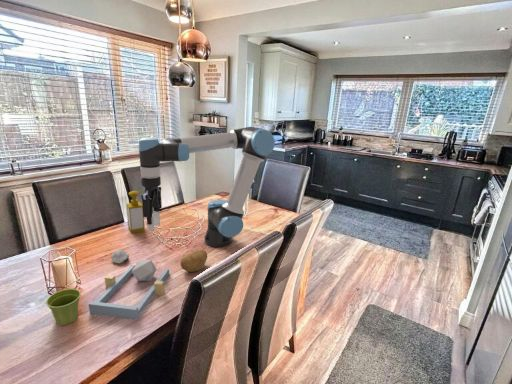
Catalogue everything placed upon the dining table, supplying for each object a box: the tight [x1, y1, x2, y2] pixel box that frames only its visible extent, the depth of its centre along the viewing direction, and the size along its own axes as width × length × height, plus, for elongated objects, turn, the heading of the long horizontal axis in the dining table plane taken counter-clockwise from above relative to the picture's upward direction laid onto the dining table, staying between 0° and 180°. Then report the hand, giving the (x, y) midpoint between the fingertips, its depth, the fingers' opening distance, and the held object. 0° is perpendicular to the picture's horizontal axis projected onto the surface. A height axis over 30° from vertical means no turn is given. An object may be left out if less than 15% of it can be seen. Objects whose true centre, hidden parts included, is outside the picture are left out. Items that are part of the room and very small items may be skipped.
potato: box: [180, 249, 208, 273], centre depth 125 cm, size 10×14×8 cm
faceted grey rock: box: [132, 259, 157, 282], centre depth 116 cm, size 8×9×10 cm
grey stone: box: [110, 248, 130, 264], centre depth 129 cm, size 9×8×5 cm
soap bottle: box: [126, 190, 146, 235], centre depth 159 cm, size 7×13×24 cm, turn 125°
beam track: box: [88, 264, 170, 320], centre depth 108 cm, size 23×28×5 cm
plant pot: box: [45, 288, 82, 326], centre depth 92 cm, size 9×9×9 cm
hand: (153, 227), depth 122 cm, fingers open, 5 cm apart
